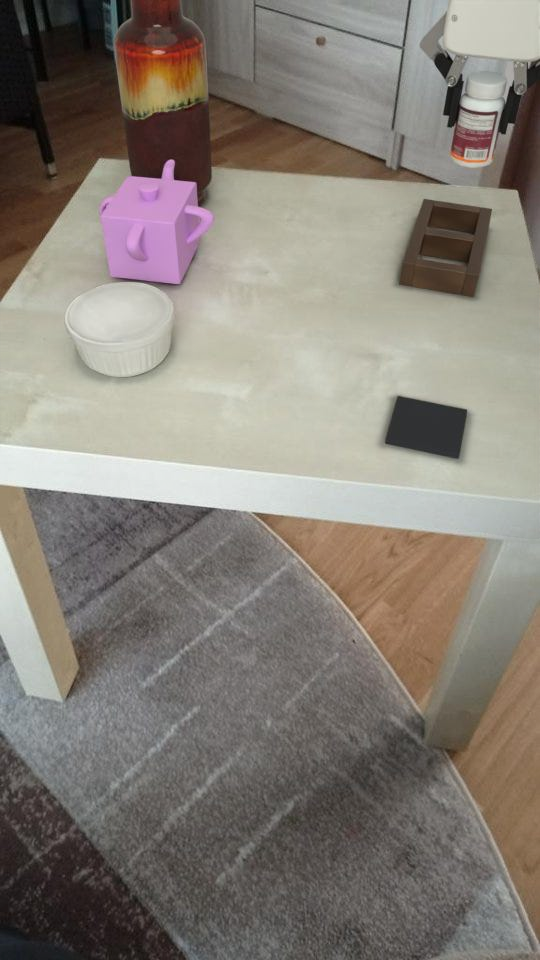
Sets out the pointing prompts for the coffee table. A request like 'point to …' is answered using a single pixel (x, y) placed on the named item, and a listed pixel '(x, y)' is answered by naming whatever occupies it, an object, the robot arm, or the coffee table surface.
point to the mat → (427, 427)
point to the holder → (446, 247)
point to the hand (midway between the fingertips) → (477, 124)
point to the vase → (164, 93)
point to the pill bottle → (478, 120)
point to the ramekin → (121, 327)
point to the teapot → (153, 227)
